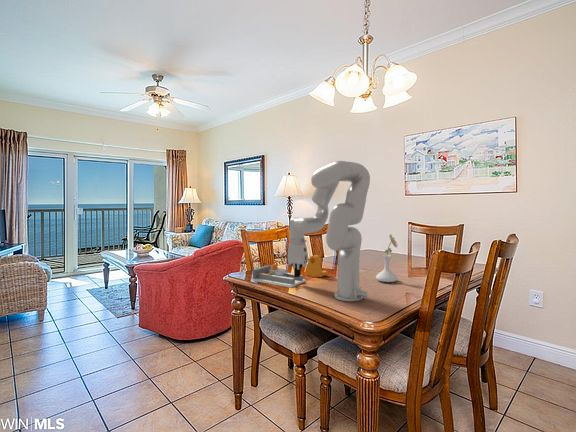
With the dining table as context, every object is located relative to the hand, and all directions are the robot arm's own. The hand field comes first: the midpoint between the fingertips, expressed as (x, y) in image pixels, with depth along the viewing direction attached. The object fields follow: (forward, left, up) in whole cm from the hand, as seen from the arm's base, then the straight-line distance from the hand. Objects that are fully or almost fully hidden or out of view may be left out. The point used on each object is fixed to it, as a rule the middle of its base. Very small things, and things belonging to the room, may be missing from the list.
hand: (297, 276), depth 162 cm
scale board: (+12, 0, -4) cm, 13 cm away
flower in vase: (-37, -32, -4) cm, 49 cm away
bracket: (+1, -22, -4) cm, 22 cm away
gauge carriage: (+12, 0, -3) cm, 12 cm away
